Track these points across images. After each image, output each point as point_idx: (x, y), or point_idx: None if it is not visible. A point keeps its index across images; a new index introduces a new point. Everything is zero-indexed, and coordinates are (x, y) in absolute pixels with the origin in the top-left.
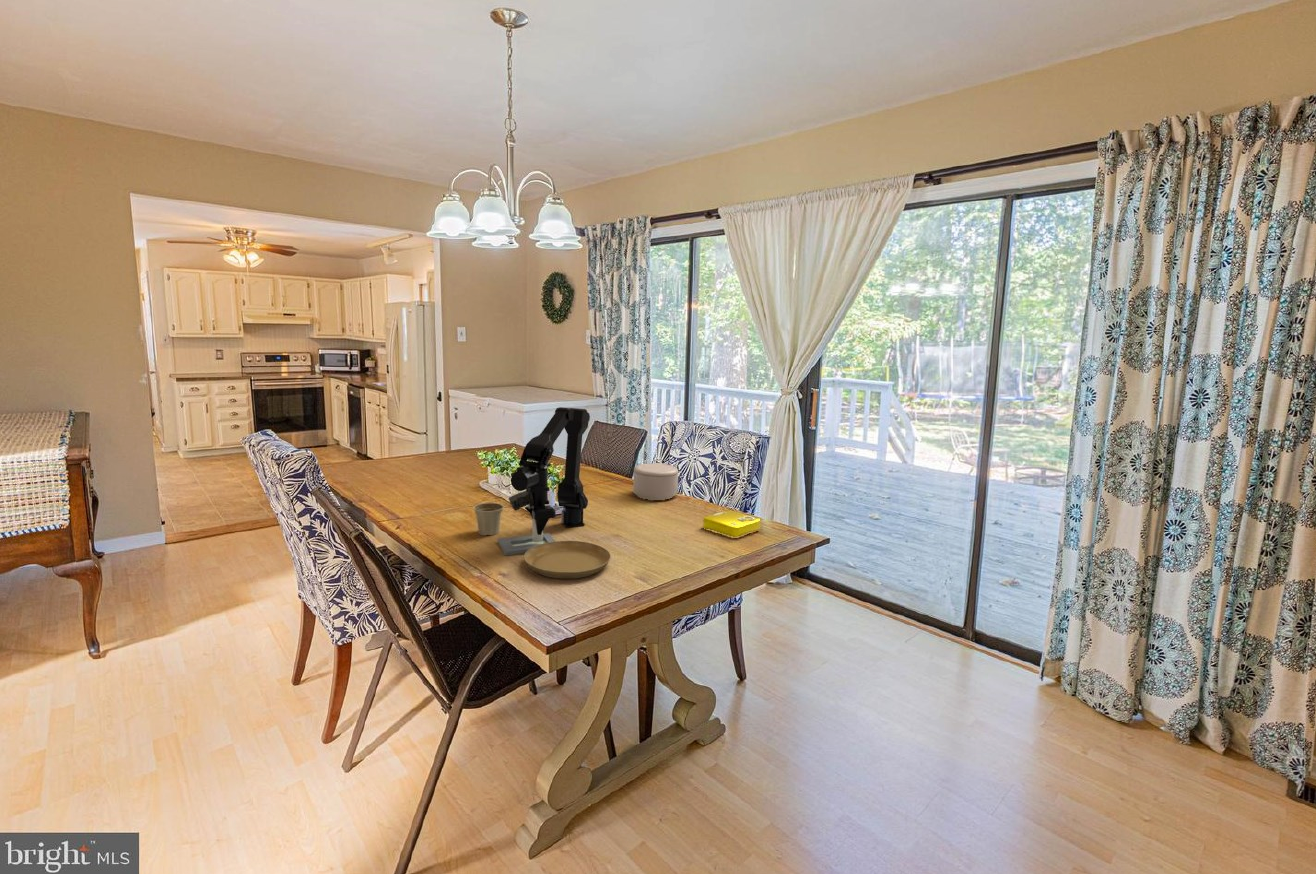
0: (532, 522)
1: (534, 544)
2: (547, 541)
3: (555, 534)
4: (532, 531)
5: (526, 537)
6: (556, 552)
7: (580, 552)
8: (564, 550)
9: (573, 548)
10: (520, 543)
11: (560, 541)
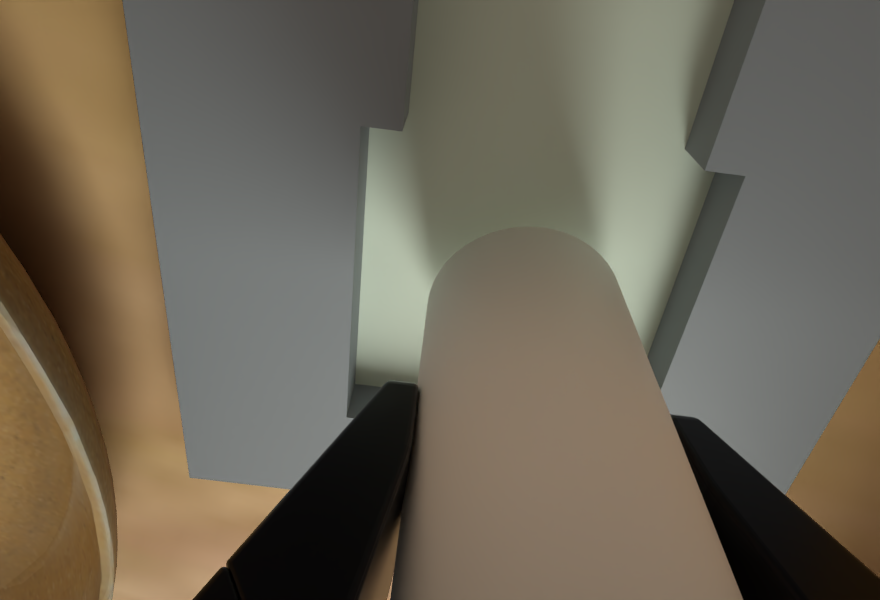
0: (612, 589)
1: None
2: None
3: None
4: (570, 348)
5: (834, 205)
6: (18, 370)
7: (6, 561)
8: (77, 467)
9: (73, 557)
10: (732, 8)
11: (98, 543)
